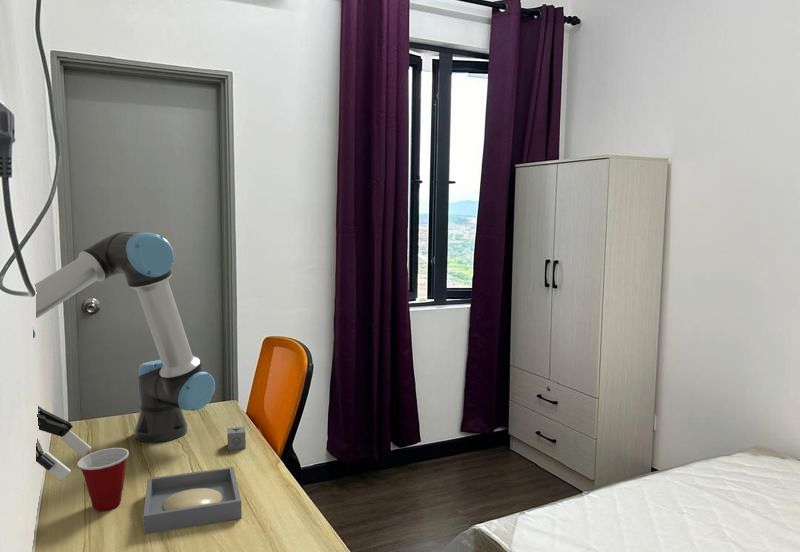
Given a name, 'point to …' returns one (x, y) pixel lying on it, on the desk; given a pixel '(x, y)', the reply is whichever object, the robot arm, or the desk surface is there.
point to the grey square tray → (191, 500)
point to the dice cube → (236, 438)
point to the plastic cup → (105, 477)
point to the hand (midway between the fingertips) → (77, 463)
